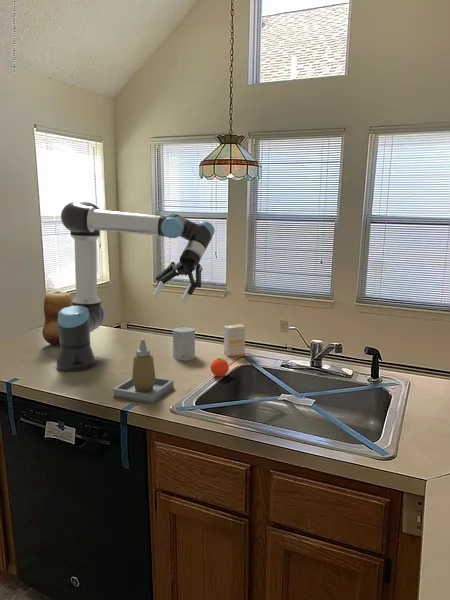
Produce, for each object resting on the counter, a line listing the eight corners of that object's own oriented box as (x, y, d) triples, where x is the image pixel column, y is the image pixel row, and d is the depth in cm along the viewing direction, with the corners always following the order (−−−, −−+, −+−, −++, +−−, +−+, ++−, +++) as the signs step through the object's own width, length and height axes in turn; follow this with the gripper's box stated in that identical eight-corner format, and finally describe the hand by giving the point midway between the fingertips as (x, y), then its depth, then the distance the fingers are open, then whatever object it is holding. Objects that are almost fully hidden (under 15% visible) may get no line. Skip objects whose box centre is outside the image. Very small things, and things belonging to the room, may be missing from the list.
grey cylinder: (168, 358, 196) (168, 330, 193) (179, 352, 204) (179, 325, 202) (189, 361, 192) (188, 333, 190) (198, 354, 201) (198, 327, 198)
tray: (113, 396, 156) (113, 388, 155) (137, 381, 170) (137, 374, 169) (152, 403, 150) (152, 395, 150) (173, 387, 164) (173, 380, 164)
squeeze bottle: (136, 395, 155) (134, 344, 151) (129, 387, 162) (127, 338, 158) (159, 391, 158) (158, 341, 155) (151, 383, 165) (150, 335, 162)
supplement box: (241, 352, 205) (241, 323, 202) (244, 355, 200) (245, 326, 198) (223, 353, 202) (223, 325, 200) (227, 357, 198) (227, 327, 195)
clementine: (220, 370, 181) (220, 353, 180) (234, 374, 177) (234, 357, 176) (206, 376, 175) (206, 358, 174) (220, 380, 171) (220, 362, 170)
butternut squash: (68, 349, 207) (64, 294, 202) (38, 348, 207) (34, 294, 202) (78, 340, 220) (75, 289, 215) (50, 340, 220) (47, 288, 215)
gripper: (222, 263, 177) (200, 308, 168) (171, 259, 190) (148, 300, 180) (215, 250, 172) (192, 296, 162) (162, 247, 184) (138, 289, 175)
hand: (168, 298), depth 171 cm, fingers open, 13 cm apart
